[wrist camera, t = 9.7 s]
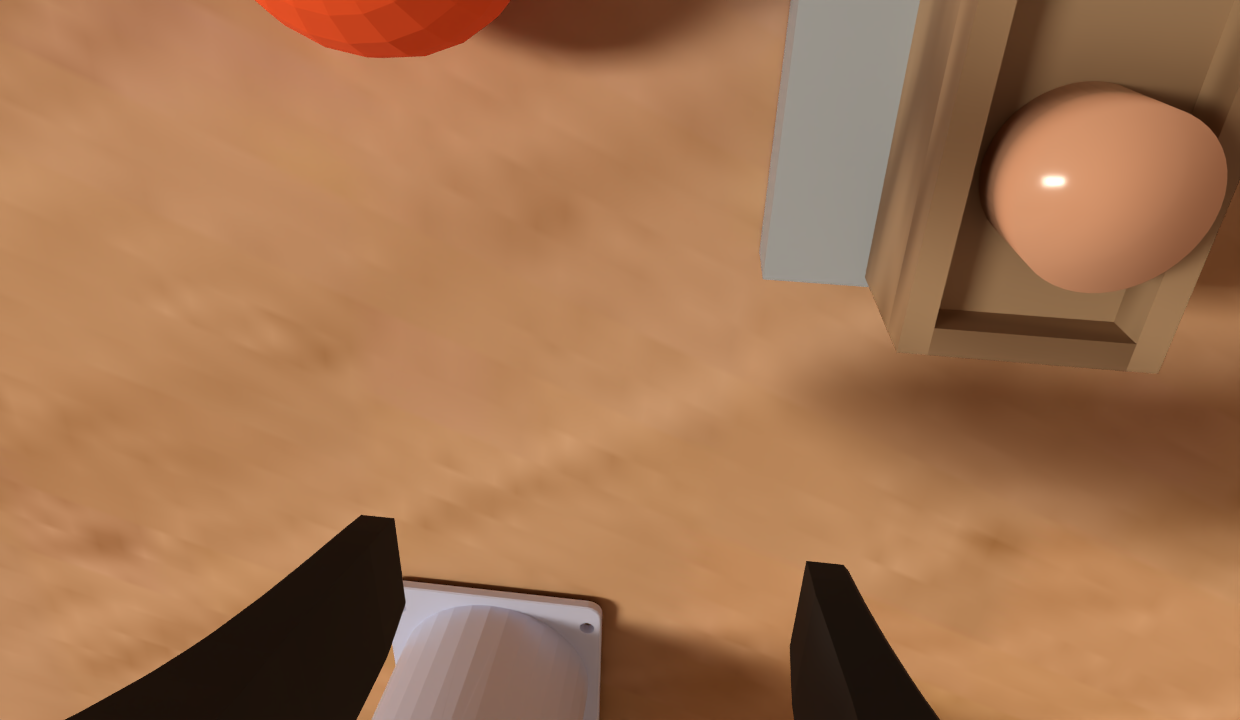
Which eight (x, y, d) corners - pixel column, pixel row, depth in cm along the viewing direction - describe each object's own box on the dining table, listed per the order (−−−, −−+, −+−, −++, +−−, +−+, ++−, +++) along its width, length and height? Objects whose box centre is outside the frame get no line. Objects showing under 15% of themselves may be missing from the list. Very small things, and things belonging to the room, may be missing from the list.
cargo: (1101, 270, 15) (1150, 314, 14) (948, 225, 15) (978, 264, 14) (1203, 110, 14) (1273, 137, 12) (1033, 58, 14) (1080, 78, 12)
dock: (1144, 278, 20) (1211, 332, 18) (759, 251, 21) (765, 298, 18) (1298, -126, 16) (1421, -141, 13) (807, -140, 17) (824, -155, 14)
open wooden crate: (1076, 293, 19) (1157, 373, 15) (864, 277, 19) (896, 352, 16) (1197, -61, 15) (1340, -62, 12) (934, -71, 16) (995, -75, 12)
